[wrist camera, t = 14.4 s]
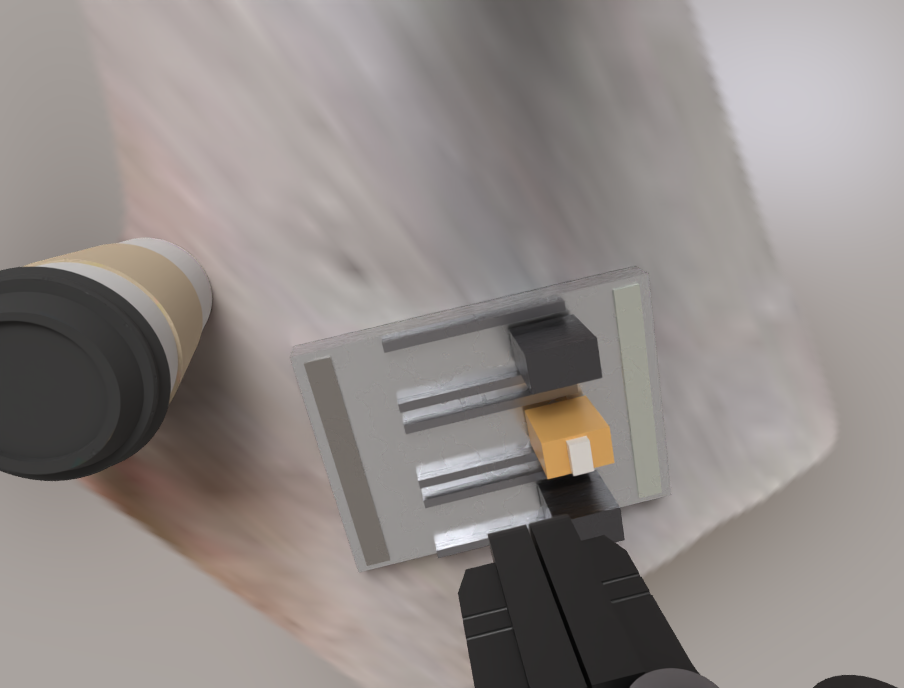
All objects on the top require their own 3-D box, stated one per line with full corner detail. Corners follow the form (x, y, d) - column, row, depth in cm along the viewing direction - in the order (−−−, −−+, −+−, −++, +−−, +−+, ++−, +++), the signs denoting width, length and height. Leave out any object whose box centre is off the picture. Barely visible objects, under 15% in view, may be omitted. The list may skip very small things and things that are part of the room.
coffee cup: (261, 279, 38) (197, 373, 24) (181, 394, 40) (78, 543, 26) (119, 185, 36) (-45, 230, 22) (40, 312, 38) (-159, 430, 24)
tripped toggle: (524, 410, 41) (544, 448, 36) (585, 395, 41) (613, 431, 36) (530, 443, 41) (550, 484, 37) (590, 428, 42) (618, 468, 37)
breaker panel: (293, 346, 40) (278, 389, 34) (635, 266, 41) (684, 293, 34) (359, 553, 46) (356, 625, 39) (659, 479, 46) (704, 537, 40)
